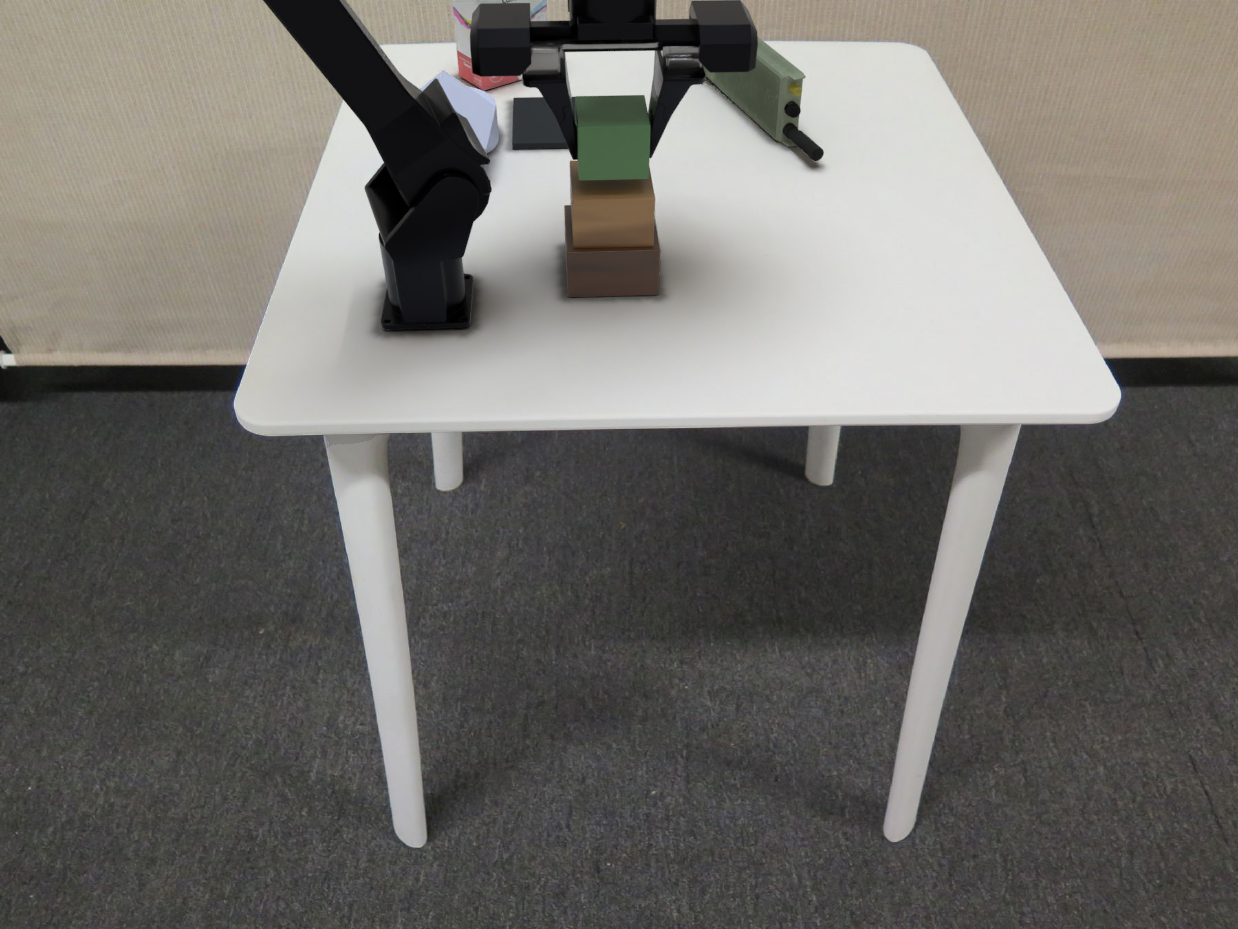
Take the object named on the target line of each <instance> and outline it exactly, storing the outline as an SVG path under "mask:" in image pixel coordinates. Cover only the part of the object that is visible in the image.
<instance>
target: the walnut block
mask: <svg viewBox="0 0 1238 929" xmlns="http://www.w3.org/2000/svg"><path fill="white" fill-rule="evenodd" d="M563 206H564V207H563V211H564V212H563V214H564V243H565V244H564V246H565V263H566V264H565V268H566V269H565V271H566V289H567V297H568V298H592V297H598V298H599V297H632V296H633V297H635V296H658V295H659V293H660V292H659V291H660V273H661V271H660V270H661V246H660V239H659V234H658V228H657V223H656V222H657V221H656V218H655V219H654V243H653V247H613V248H573V239H572V222H571V204H565V205H563Z"/></svg>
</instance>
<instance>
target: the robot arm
mask: <svg viewBox="0 0 1238 929" xmlns="http://www.w3.org/2000/svg"><path fill="white" fill-rule="evenodd" d="M262 1H263V3H264V4H265V5H266V6H267V8H268V9H269V10H270V11H271V13H272V14H273V15H274V16H275V17H276V18H277V20H278V21H279V22H280V24H281V25H282V26H283V28H285V29H286V31H287V33H289V35H290V36H291V37H292V38H293V40H294V41H295V42H296V43H297V45H298V46H299V47H300V48H301V49H302V51H303V52H304V53H305V55H307V57H308V58H309V60H310V61H311V62H312V63H313V64H314V66H315V67H316V68H317V69H318V70H319V72H320V73H321V74H322V75H323V76H324V78H325V79H326V80H327V82H328V83H329V84H330V85H331V86H332V88H333V89H334V90H335V92H337V94H338V95H339V97H341V99H342V100H343V102H345V104H346V105H347V106H348V108H349V109H350V110H351V111H352V112H353V114H354V115H355V116H356V117H357V119H358V120H359V121H360V122H361V123H362V125H363V126H364V127H365V129H366V131H367V133H368V135H369V137H370V139H371V140H372V142H373V144H374V146H375V148H376V150H377V152H378V154H379V156H380V158H381V160H382V162H383V163H382V164H381V165H380V167H379V168H378V169H377V170H376V171H375V173H374V174H373V175H372V176H371V177H370V179H369V180H368V181H367V183H366V184H365V185H364V191H365V192H364V193H365V195H366V197H367V201H368V203H369V206H370V209H371V212H372V215H373V218H374V220H375V224H376V225H377V229H378V243H379V249H380V254H381V261H382V265H383V271H384V277H385V283H386V291H385V295H384V296H385V297H384V301H383V307H382V312H381V318H380V326H381V328H382V329H383V330H387V331H394V330H395V331H396V330H397V331H399V330H424V329H425V330H429V329H430V330H431V329H435V330H436V329H463V328H469V327H470V326H471V322H472V311H473V310H472V309H473V294H474V276H473V275H472V274H471V273H465V272H464V263H463V258H464V256H465V254H466V250H467V246H468V242H469V239H470V236H471V233H472V229H473V225H474V222H476V220H478V218H480V217H481V216H482V214H483V213H484V211H485V209H486V208H487V206H488V205H489V201H490V196H491V193H492V191H493V190H492V183H491V180H490V178H489V176H488V174H487V172H486V169H485V168H484V166H485V165H490V164H491V159H490V158H489V156H488V153H487V154H486V152H485V150H484V148H483V147H482V145H481V143H480V141H479V139H478V138H477V136H476V134H475V132H474V130H473V128H472V127H471V125H470V123H469V121H468V119H467V118H465V117H464V116H462V115H460V114H459V113H457V112H456V110H455V109H454V108H453V106H452V104H451V103H450V101H449V99H448V97H447V95H446V93H445V92H444V90H443V88H442V86H441V84H440V82H439V80H438V79H434V80H433V81H432V82H431V83H430V84H429V85H428V86H427V87H426V88H425V89H424V90H423V91H421V90H420V88H419V87H418V86H416V85H415V84H414V83H412V82H411V81H410V80H408V79H407V78H406V77H404V76H403V74H401V73H400V71H399V70H398V69H397V67H396V66H395V64H394V63H393V62H392V60H391V59H390V58H389V56H388V55H387V54H386V52H385V51H384V50H383V48H382V47H381V46H380V44H379V43H378V42H377V40H376V39H375V38H374V36H373V35H372V33H371V32H370V30H368V28H367V27H366V25H365V24H364V23H363V21H362V20H361V19H360V17H359V16H358V14H357V13H356V12H355V10H354V9H353V7H351V6H350V4H349V2H348V1H347V0H262ZM657 3H658V0H567V13H569V20H547V21H531V11H530V3H482V4H479V6H478V7H477V8H476V9H475V11H474V12H473V13H472V21H471V30H470V51H471V62H472V73H473V74H476V75H478V76H481V77H484V76H520V75H521V74H522V79H521V81H522V82H521V83H522V85H523V86H524V87H525V88H529V89H538V91H539V93H540V95H541V97H543V98H544V99H545V101H546V103H547V104H548V106H549V108H550V109H551V111H552V113H553V114H554V116H555V118H556V120H557V123H558V125H559V127H560V130H561V132H562V135H563V137H564V139H565V142H566V144H567V147H568V148H567V149H568V152H569V154H570V157H571V160H572V161H577V160H578V141H577V128H576V122H575V115H574V109H573V103H572V97H573V96H572V91H571V90H572V89H571V84H570V79H569V72H568V71H569V70H568V63H567V56H566V53H593V52H595V53H597V52H599V53H601V52H647V51H648V52H654V56H653V57H654V59H653V74H652V83H651V88H650V89H651V90H650V96H649V102H648V108H647V111H648V116H649V121H650V156H649V159H652V158H653V156H654V154H655V152H656V150H657V148H658V145H659V143H660V141H661V139H662V137H663V135H664V133H665V130H666V128H667V126H668V124H669V122H670V120H671V118H672V116H673V114H674V112H675V111H676V109H677V108H678V106H679V105H680V103H681V102H682V100H683V98H684V97H685V95H686V94H687V93H688V91H689V90H690V88H691V87H693V86H697V85H699V86H700V85H702V84H705V82H706V78H707V77H706V74H705V70H704V67H705V68H706V69H707V70H708V71H709V72H710V73H718V72H749V71H751V70H753V69H755V67H756V57H757V48H758V37H759V36H758V29H757V27H756V25H755V23H754V19H753V17H752V15H751V13H750V11H749V9H748V8H747V6H746V5H745V4H744V2H742V0H691V1H690V6H689V9H688V18H663V19H662V18H659V19H658V18H657V6H658V5H657ZM703 66H704V67H703Z"/></svg>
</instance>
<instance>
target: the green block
mask: <svg viewBox="0 0 1238 929" xmlns="http://www.w3.org/2000/svg"><path fill="white" fill-rule="evenodd" d="M574 97H575V102H576V128H577V141H578V160H576V161H577V162H578V176H579V180H623V179H649V166H650V158H649V156H650V121H649V116H648V106H647V102H646V96H645V95H644V94H630V95H629V94H626V95H620V94H619V95H576V96H574Z"/></svg>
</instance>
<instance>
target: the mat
mask: <svg viewBox="0 0 1238 929" xmlns="http://www.w3.org/2000/svg"><path fill="white" fill-rule="evenodd" d="M575 97H576V96H572V103H573V109H574V115H575V122H576V102H575ZM512 103H513V104H512V137H511V138H512V140H511V143H512V145H511V146H512V150H532V149H533V150H538V149H539V150H540V149H541V150H542V149H543V150H544V149H568V147H567V144H566V142H565V139H564V137H563V135H562V132H561V130H560V127H559V125H558V123H557V120H556V118H555V116H554V114H553V113H552V111H551V109H550V108H549V106H548V104H547V103H546V101H545V99H544V98H543V96H533V97H532V96H529V97H527V96H526V97H513V102H512Z"/></svg>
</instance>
